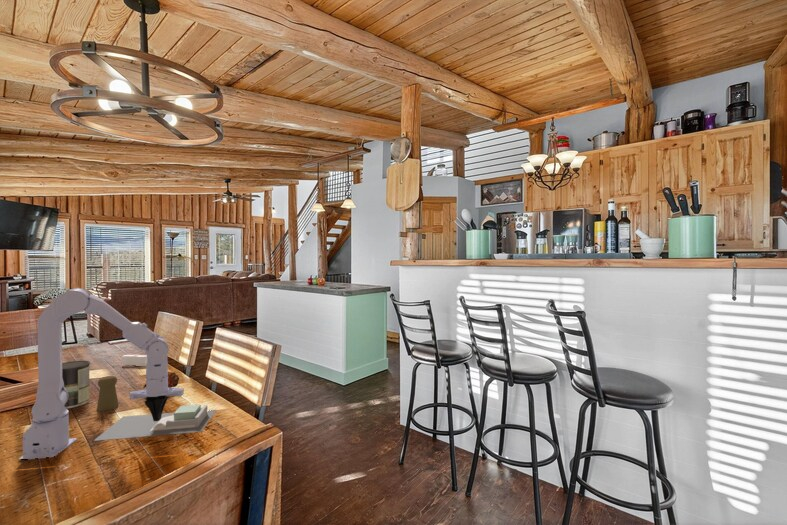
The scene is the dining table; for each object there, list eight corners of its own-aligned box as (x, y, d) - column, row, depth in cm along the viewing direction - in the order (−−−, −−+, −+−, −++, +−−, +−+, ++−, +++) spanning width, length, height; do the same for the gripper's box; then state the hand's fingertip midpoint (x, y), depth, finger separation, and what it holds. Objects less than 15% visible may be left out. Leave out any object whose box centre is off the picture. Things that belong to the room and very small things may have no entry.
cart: (196, 422, 114) (195, 411, 114) (172, 423, 112) (172, 413, 112) (201, 414, 119) (201, 404, 119) (179, 416, 118) (179, 406, 118)
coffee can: (59, 412, 123) (59, 370, 123) (46, 406, 128) (45, 366, 128) (95, 401, 132) (95, 362, 132) (82, 396, 137) (81, 359, 137)
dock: (201, 434, 109) (201, 421, 109) (93, 443, 104) (93, 430, 104) (216, 412, 125) (216, 400, 125) (123, 419, 119) (123, 407, 119)
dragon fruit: (182, 392, 145) (146, 404, 138) (177, 376, 150) (142, 386, 143) (181, 379, 140) (144, 391, 133) (176, 363, 145) (140, 373, 138)
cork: (106, 412, 123) (106, 380, 123) (92, 411, 124) (91, 379, 124) (123, 405, 129) (122, 374, 129) (109, 404, 130) (108, 373, 130)
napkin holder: (115, 367, 174) (115, 355, 174) (142, 361, 184) (142, 350, 183) (127, 373, 166) (127, 360, 166) (155, 367, 175) (155, 355, 175)
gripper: (187, 371, 119) (187, 412, 119) (137, 374, 116) (137, 416, 117) (178, 378, 112) (178, 422, 112) (126, 381, 109) (126, 426, 110)
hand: (157, 419), depth 114 cm, fingers closed
